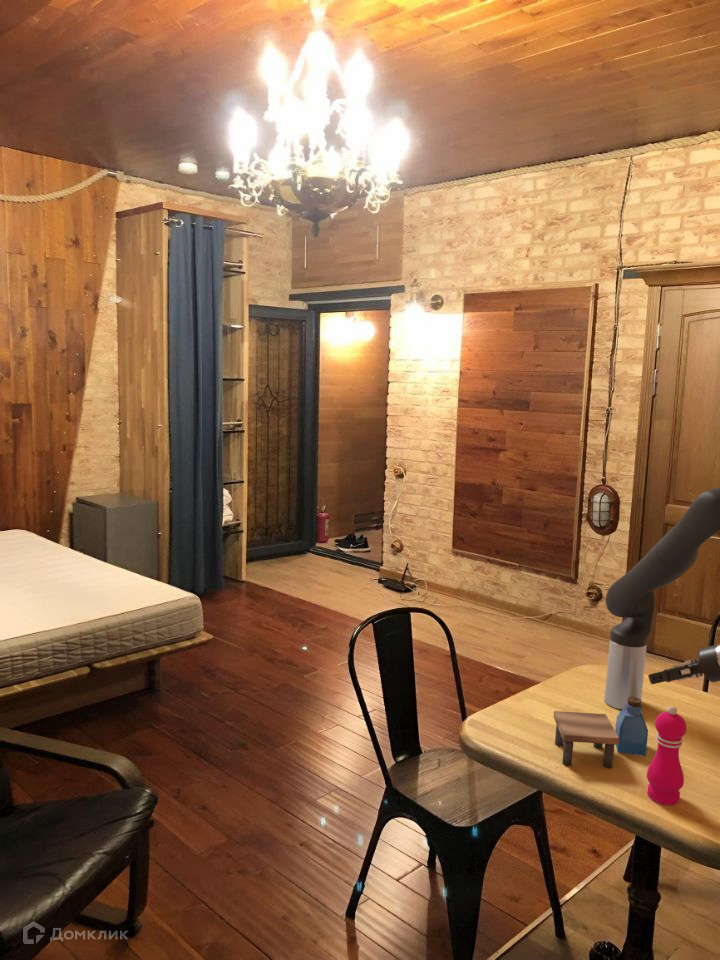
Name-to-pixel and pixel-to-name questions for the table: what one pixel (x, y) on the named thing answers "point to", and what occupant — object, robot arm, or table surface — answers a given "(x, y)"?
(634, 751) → the perfume bottle
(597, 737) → the brown legged piece
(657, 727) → the pepper mill
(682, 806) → the table surface
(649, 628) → the robot arm
